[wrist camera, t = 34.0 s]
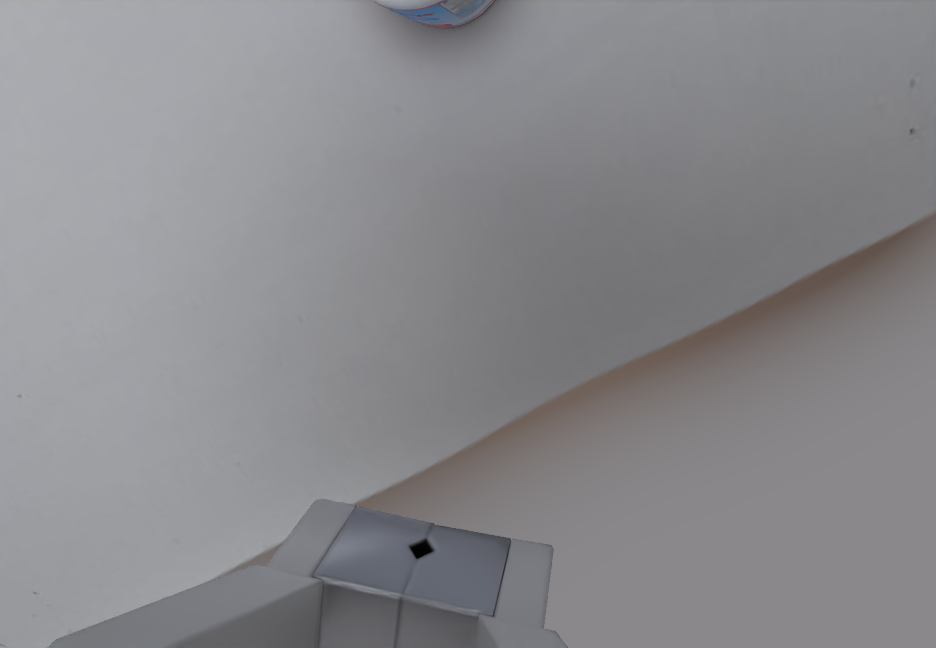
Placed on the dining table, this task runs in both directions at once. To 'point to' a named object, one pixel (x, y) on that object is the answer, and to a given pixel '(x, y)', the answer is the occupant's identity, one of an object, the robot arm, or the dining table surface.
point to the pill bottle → (438, 10)
